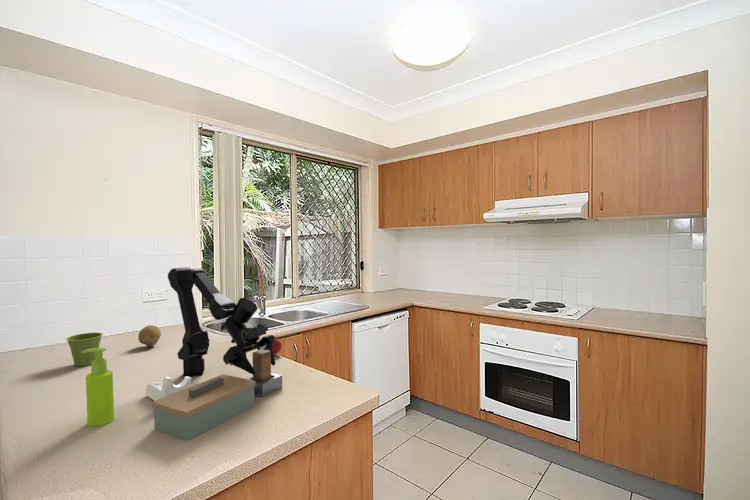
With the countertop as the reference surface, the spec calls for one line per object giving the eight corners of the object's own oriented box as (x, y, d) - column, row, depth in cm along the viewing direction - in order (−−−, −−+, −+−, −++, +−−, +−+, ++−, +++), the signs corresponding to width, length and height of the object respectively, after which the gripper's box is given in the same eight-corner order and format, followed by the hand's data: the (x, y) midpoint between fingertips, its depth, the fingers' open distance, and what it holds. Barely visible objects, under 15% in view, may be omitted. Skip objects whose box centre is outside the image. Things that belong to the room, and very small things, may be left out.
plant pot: (59, 367, 150) (58, 338, 150) (92, 358, 161) (91, 331, 161) (79, 370, 146) (78, 341, 146) (110, 361, 157) (109, 333, 156)
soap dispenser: (92, 417, 107) (89, 346, 106) (118, 416, 108) (116, 345, 107) (78, 427, 101) (75, 352, 100) (105, 426, 102) (103, 351, 101)
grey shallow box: (241, 392, 123) (241, 379, 123) (262, 382, 131) (261, 371, 131) (262, 397, 119) (262, 384, 119) (282, 387, 127) (282, 375, 127)
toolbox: (152, 429, 100) (151, 394, 99) (236, 390, 124) (235, 362, 124) (187, 441, 93) (186, 404, 93) (268, 398, 118) (267, 368, 118)
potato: (153, 349, 172) (153, 327, 172) (134, 350, 172) (133, 327, 172) (165, 344, 181) (164, 323, 181) (146, 344, 181) (145, 323, 181)
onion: (278, 357, 159) (277, 338, 159) (265, 356, 160) (264, 337, 160) (284, 353, 165) (283, 334, 164) (271, 352, 166) (271, 334, 166)
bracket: (185, 403, 118) (191, 378, 119) (161, 405, 112) (168, 378, 114) (168, 393, 126) (173, 369, 127) (144, 394, 121) (150, 369, 122)
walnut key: (253, 390, 124) (252, 352, 124) (262, 386, 128) (261, 349, 127) (262, 393, 122) (261, 354, 122) (271, 388, 126) (270, 350, 126)
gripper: (228, 322, 118) (256, 362, 113) (271, 311, 135) (296, 346, 130) (211, 344, 122) (237, 384, 117) (254, 331, 138) (279, 366, 134)
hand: (264, 369), depth 124 cm, fingers open, 9 cm apart
